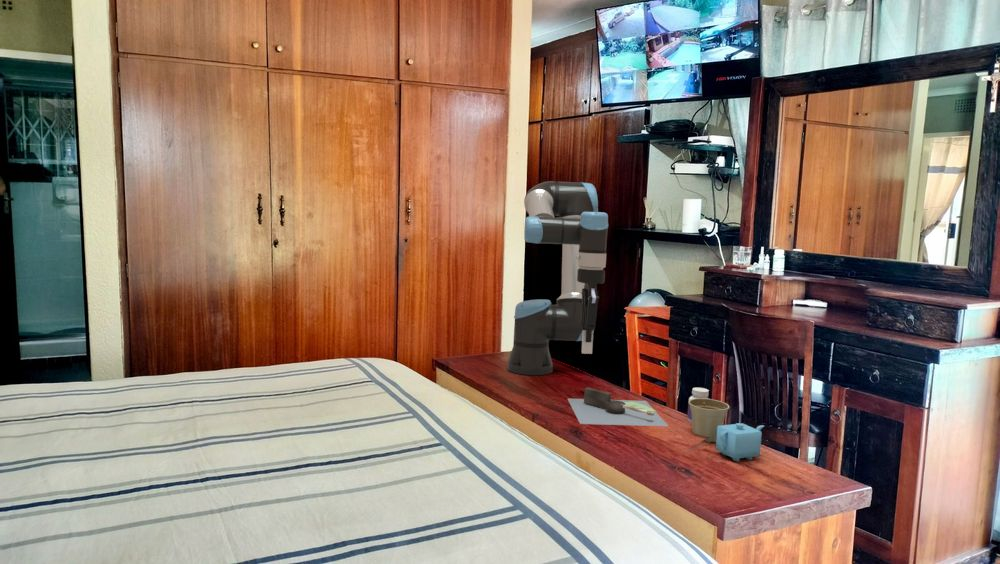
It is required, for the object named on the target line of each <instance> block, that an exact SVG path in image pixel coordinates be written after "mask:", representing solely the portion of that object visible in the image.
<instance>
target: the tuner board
mask: <svg viewBox="0 0 1000 564" xmlns="http://www.w3.org/2000/svg"><path fill="white" fill-rule="evenodd" d="M615 400H616V401H622V402H624V403H625V405H627V406H631V407H635V408H638V409H642V410H646V411H653V412H654V416H653V415H647V414H645V413H641V412H637V411H633V410H630V409H626V408H625V412H624V413H611V412H608V411H606V409H605V408H601V407H597V406H594V405H590V404H586V403H584V398H567V401H568V403H569V405H570V407H571V409H572V411H573V412H574V415H575V417H576V419H577V420H578V422H579V425H595V426H596V425H598V426H599V425H600V426H602V425H604V426H608V425H609V426H635V427H637V426H638V427H641V426H643V427H670V426H669V425H668V423H667V422H665V420H664V419H663V418H662V417H661V416H660V415H659V414H658V412H657V411H656V410H655V409H654V408H653V407H652V405H650V404H649V402H648V401H647V400H631V399H630V400H628V399H627V400H626V399H615Z"/></svg>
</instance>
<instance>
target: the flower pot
mask: <svg viewBox="0 0 1000 564" xmlns="http://www.w3.org/2000/svg"><path fill="white" fill-rule="evenodd" d="M688 403H689V405H690V409H691V414H692V423H691V427H692V428H691V429H692V433H694V434H695V435H697V436H701V437H704V439H703V440H702V443H703V442H704V443H711V442H713V443H716V440H717V427H718V426H721V425H724V422H725V417H726V415H727V413H728V410H729V409H730V405H729V404H728V403H726V402H723V401H721V400H716V399H713V398H712V399H711V398H709V399H705V398H697V399H691V400H689V399H688Z"/></svg>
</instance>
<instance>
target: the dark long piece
mask: <svg viewBox="0 0 1000 564" xmlns="http://www.w3.org/2000/svg"><path fill="white" fill-rule="evenodd" d="M583 394H584V395H583V399H584V403H586V404H590V405H594V406H597V407H601V408H605V409H606V411H608V412H611V413H624V412H625V408H626V409H630V410H633V411H637V412H641V413H645V414H647V415H653V416H654V412H653V411H646V410H642V409H638V408H635V407H631V406H627V405H625V403H624V402H622V401H616V400H617V399H612V393H611V392H608V391H607V392H606V391H603V390H600V389H599V390H598V389H596V388H591V387H585V388H584V393H583Z"/></svg>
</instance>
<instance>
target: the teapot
mask: <svg viewBox="0 0 1000 564" xmlns="http://www.w3.org/2000/svg"><path fill="white" fill-rule="evenodd" d="M764 427H765V425H763V424H761V425H757V427H756V428H755V427H752V426H749V425H748V424H745V423H743V422H742V423H741V422H738V423H737V422H736V423H734V424H733V423H732V424H723V425H721V426H718V427H717V440H716V442H715V450H717V451H718V452H720V453H721V455H723V456H728V457H730V458H731V459H732V461H733V462H740V460H741V459H744V458H745V459H747V460H750V461H751V460H753V459H754V458H753V457H760V456H761V449H762V448H761V447H762V445H761V444H762V429H763V428H764Z"/></svg>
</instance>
